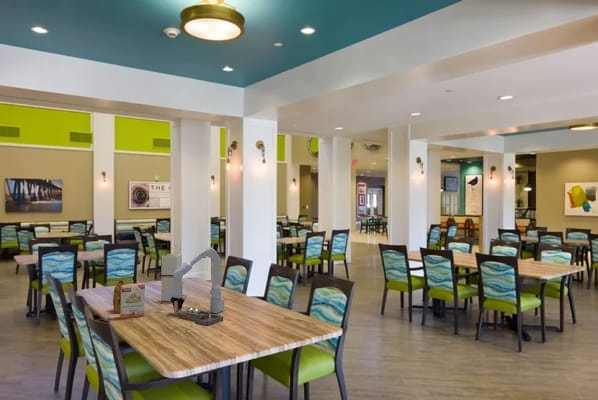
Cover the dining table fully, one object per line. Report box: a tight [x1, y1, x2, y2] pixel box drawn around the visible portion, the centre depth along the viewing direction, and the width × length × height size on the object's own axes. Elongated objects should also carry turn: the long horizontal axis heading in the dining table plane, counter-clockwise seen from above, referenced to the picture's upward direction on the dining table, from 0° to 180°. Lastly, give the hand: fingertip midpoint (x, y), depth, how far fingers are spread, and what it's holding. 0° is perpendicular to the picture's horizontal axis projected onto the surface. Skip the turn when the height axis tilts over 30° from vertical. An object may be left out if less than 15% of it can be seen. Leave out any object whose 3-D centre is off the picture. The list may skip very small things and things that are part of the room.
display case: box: [160, 253, 183, 305], centre depth 306 cm, size 11×11×35 cm
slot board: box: [177, 307, 210, 323], centre depth 263 cm, size 10×18×4 cm, turn 57°
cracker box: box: [119, 283, 146, 320], centre depth 266 cm, size 14×6×21 cm, turn 121°
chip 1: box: [186, 307, 196, 313], centre depth 265 cm, size 4×3×3 cm
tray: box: [194, 313, 224, 327], centre depth 256 cm, size 14×10×2 cm
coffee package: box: [112, 277, 126, 314], centre depth 279 cm, size 10×12×22 cm
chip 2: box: [192, 308, 202, 314], centre depth 262 cm, size 4×3×3 cm
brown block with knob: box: [173, 301, 182, 316], centre depth 272 cm, size 5×3×9 cm, turn 147°
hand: (177, 308), depth 272 cm, fingers open, 4 cm apart
